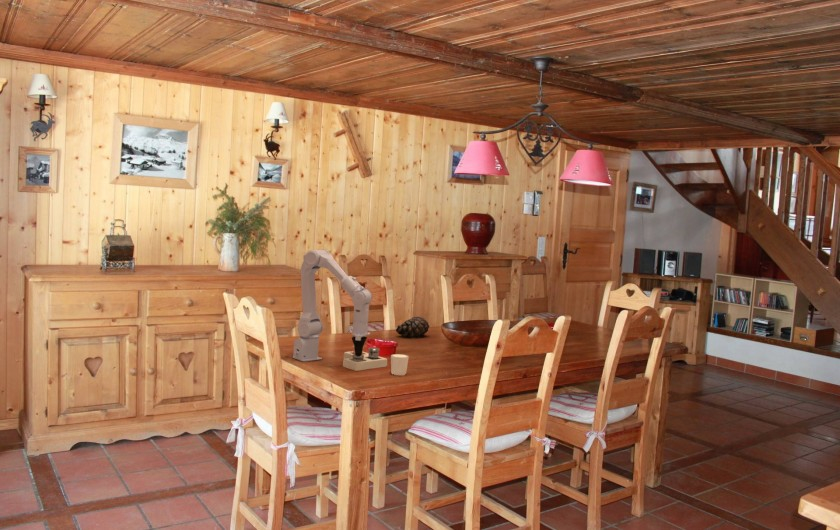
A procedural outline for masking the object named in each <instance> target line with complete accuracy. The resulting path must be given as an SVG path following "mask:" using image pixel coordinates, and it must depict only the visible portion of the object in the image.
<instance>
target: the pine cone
mask: <svg viewBox="0 0 840 530" xmlns="http://www.w3.org/2000/svg"><path fill="white" fill-rule="evenodd" d="M429 329H430V325H429V322H428V321H427V320H426V318H424V317H421V316H413V317H411V318H409V319H407V320H405V321H404V322H402V323H401V324H398V325H397V327H396V328H395V331H396V333H397V334H398V335H400V336H398V338H400V339H421V338H425V337H426V335H425V334H427V332H428V331H429Z"/></svg>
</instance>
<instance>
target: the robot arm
mask: <svg viewBox="0 0 840 530" xmlns="http://www.w3.org/2000/svg"><path fill="white" fill-rule="evenodd" d="M302 259H303V261H302V264H301V266H300V281H301V282H300V284H301V285H300V286H301V301H302V315H300V317H299V320H298V321H299V323H298V327H297V331H298V334H299V335H300V337H298V338H295V339H294V342H293V355H292V357H291V358H293V359H295V360H298V361H301V362H310V361H317V360H319V361H320V360H323V358H322V357H319V356H318V355H319V342H320V334H321V333H322V332H323V330H324V324H323V323H322V319H321V315H320V314H319V313H318V309H317V294H316V290H317V289H316V279H315V278H316V276H315V273H317V272H318V271H319V269H321V268H324V269H327V270H328V271H330V273H331V274H333V276H334V277H335V278H337V280H339V281H340V286H341V288H342V289H343V290H344V291H345V292H346V293H347V294H348V296H350V297H351V301H352V303H353V317H352V318H353V320H352V321H353V322H352V331H351V335H352V337H351V341H352V343H353V345H354V348H355V355H356V356H361V354H362V350H363V351H364V349H363V346H364V347H365V343H366V341H367V339H368V336H370V335H371V332H370V331H369V332H368V329H369V328H368V327H369V326H368V325H369V314H370V313H369V311H370V304H371V302H372V301H373V294H372V292H371V291H370V290H369V289H366V288H365V286H362V285H361V284H360V283H359V282H358V281H357V278H356V277H355V276H352V275H347V273H346V272H345V271H344V270H343V269H342V268H341V266H340V265H339V263H338V262H336V260H335V259H334V257H333V255H332V254H331V253H330V252H329V251H328V250H326V249H317V250H315V249H314V250H313V249H310V250H308V251H307V252H305V253H304V255H303V257H302Z"/></svg>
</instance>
